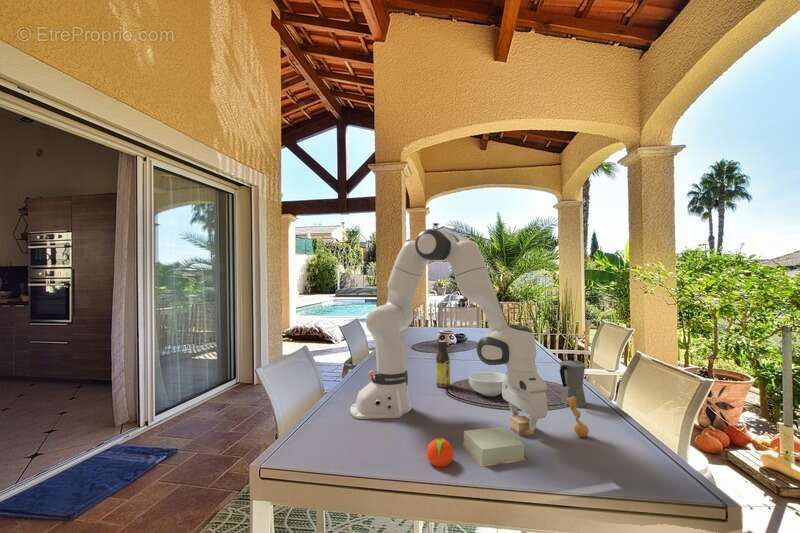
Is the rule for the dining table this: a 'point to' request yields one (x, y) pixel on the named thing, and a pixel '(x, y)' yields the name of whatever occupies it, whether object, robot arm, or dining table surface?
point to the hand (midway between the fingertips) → (523, 422)
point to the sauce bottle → (442, 365)
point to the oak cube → (521, 425)
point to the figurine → (580, 427)
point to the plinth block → (493, 445)
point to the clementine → (440, 452)
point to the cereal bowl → (487, 383)
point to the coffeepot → (572, 381)
